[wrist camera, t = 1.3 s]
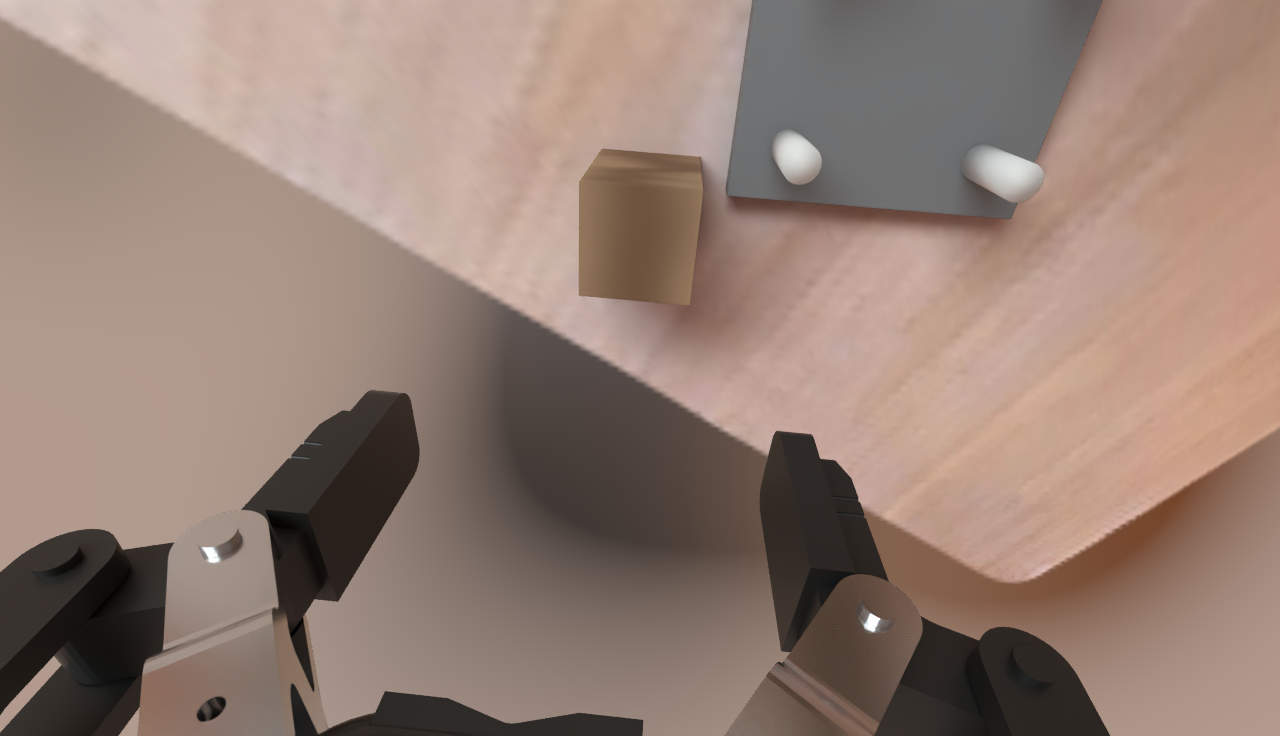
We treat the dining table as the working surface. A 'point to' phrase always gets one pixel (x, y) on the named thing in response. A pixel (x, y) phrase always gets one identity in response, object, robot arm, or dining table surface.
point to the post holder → (902, 101)
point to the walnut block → (639, 226)
